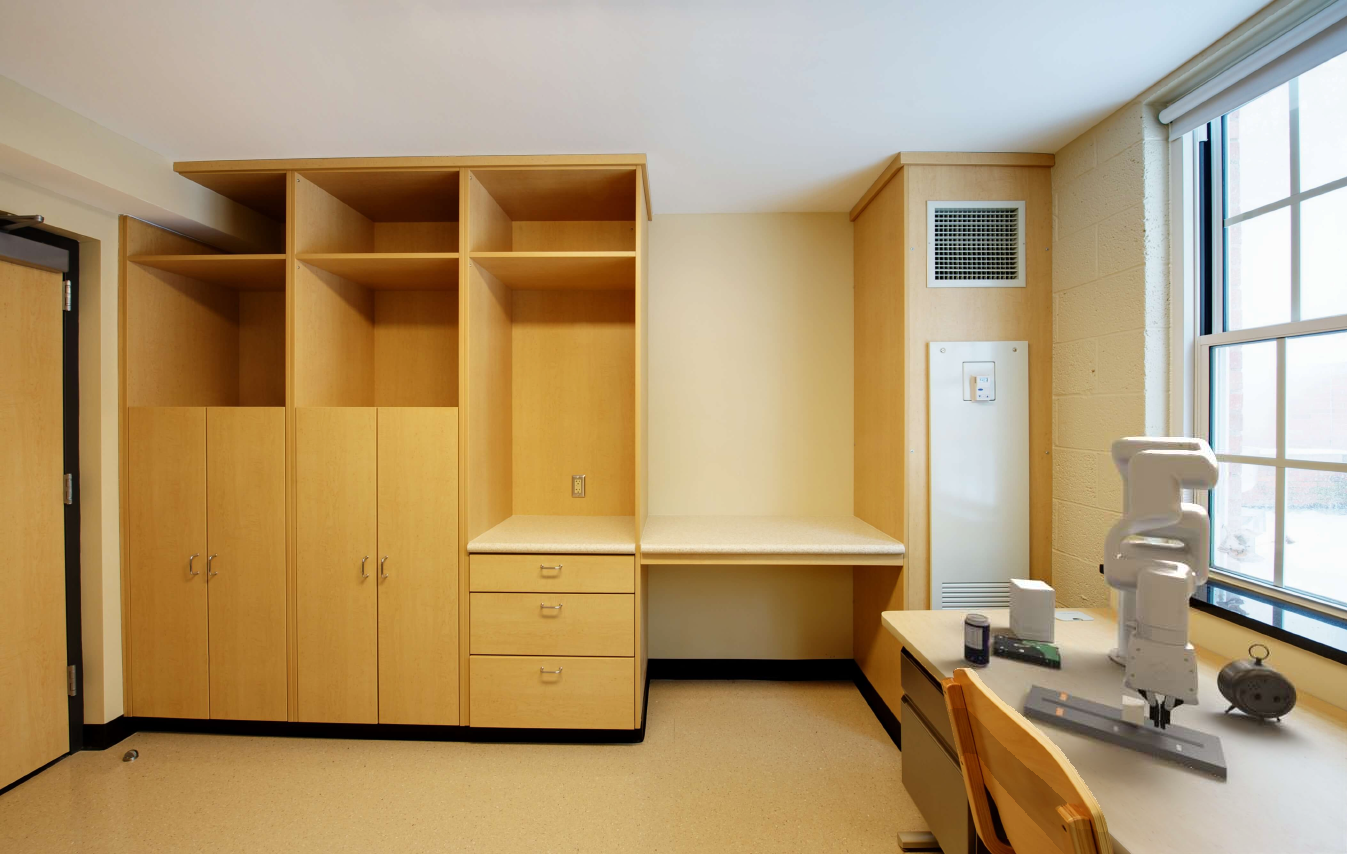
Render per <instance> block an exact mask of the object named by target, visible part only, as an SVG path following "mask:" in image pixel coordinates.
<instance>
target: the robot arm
mask: <svg viewBox="0 0 1347 854" xmlns="http://www.w3.org/2000/svg"><path fill="white" fill-rule="evenodd" d="M1110 448H1111V449H1110V451H1111V452H1110V453H1111V456H1112V460H1113V463H1114V465H1115V467H1116V469H1117V470H1118V472H1119V475H1120V477H1121V480H1122V486H1123V487H1122V488H1123V489H1122V491H1123V493H1122V517H1121V518H1120V519H1119V520H1118V521H1116V522H1115V523H1114V524H1113V525H1112V526H1111V528H1109V531H1108V532H1107V534H1106V536H1105V539H1104V543H1103V576H1104V580H1105V582H1106V584H1107V585H1108V586H1109V587H1111V588H1112V589H1114V590H1117V591H1118V593H1117V594H1118V597H1117V599H1118V601H1117V604H1118V605H1117V647H1114V648H1112V649H1110V650H1109V657H1110V658H1112V660H1113V661H1115V662H1116V663H1118V664H1120V665H1123V666H1124V667H1125V678H1124V681H1123V685H1124V688H1126V689H1128V690H1131V691H1134V692H1136V693H1139V695H1140V696H1141V697H1142V698H1143V700H1145V701H1146V702H1147V704H1148V705H1149V706H1148V708H1149V710H1148V711H1149V713H1148V715H1149V716H1148V717H1149V719H1150V720H1154V727H1157V728H1158V727H1159V720H1160V728H1162V729H1164V730H1165V726H1166V724H1168V725H1170V723H1171V711H1173V709H1175V708H1177V707H1180V706H1183V705H1187V706H1199V705H1200V702H1199V698H1198V695H1199V679H1198V678H1199V677H1198V675H1199V674H1198V661H1197V657H1196V656H1197V654H1196V652H1195V648H1194V646H1193V644H1191V643H1190V642H1189V616H1190V615H1189V612H1190V598H1191V596H1192V595H1194V594H1196V591H1197V587H1198V586H1202V585H1204V584H1206V582H1207V581H1208V579H1209V574H1210V559H1211V558H1210V555H1211V553H1210V551H1211V521H1210V517H1209V513H1208V511H1207V510H1206V509H1205V508H1204V507H1203V506H1202V505H1201V506H1200V505H1198V504H1195V503H1187V502H1182V499H1181V496H1182V495H1181V490H1182V489H1183V490H1196V491H1209V490H1212V489H1214V488H1215V487H1216V486H1217V484H1218V481H1219V476H1220V474H1219V473H1220V471H1219V464H1218V462H1217V458H1216V456H1215V454H1214V452H1213V450H1212V448H1211V447H1210V445H1209V444H1208V442H1207V441H1206V440H1203V439H1200V438H1196V437H1195V438H1194V437H1192V438H1191V437H1158V436H1155V437H1153V436H1131V437H1130V436H1128V437H1122V438H1118V439H1116V440H1114V441H1112V444H1111V447H1110ZM1131 536H1135V537H1141V538H1149V539H1157V540H1166V541H1172V542H1173V541H1174V542H1180V543H1182V544H1183V545H1182V544H1173V543H1166V542H1165V543H1163V542H1157V541H1148V540H1138V539H1137V540H1136V539H1133V540H1132V539H1131V540H1125V539H1127V538H1129V537H1131ZM1156 694H1158V695H1161V696H1164V698H1163V700H1161V703H1159V700H1158V699H1157V698H1156Z"/></svg>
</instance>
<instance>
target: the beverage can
mask: <svg viewBox="0 0 1347 854" xmlns="http://www.w3.org/2000/svg"><path fill="white" fill-rule="evenodd" d="M963 621H964V624H963V625H964V627H963V629H964V630H963V632H964V633H963V634H964V636H963V637H964V640H963V641H964V642H963V647H964V648H963V649H964V650H963V652H964V653H963V657H964V659H965V661H967V663H968V664H969V665H972V666H973V667H977V668H978V667H979V668H983V667H986V666H987V665H989V663H990V654H991V653H990V652H991V651H990V649H991V648H990V641H991V639H990V637H991V635H990V634H991V633H990V631H991V628H990V627H991V624H990V622H989V618H988V617H987V616H985V615H984V614H983V615H982V614H979V613H968V614H966V615H965V618H964V620H963Z"/></svg>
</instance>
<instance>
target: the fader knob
mask: <svg viewBox="0 0 1347 854" xmlns="http://www.w3.org/2000/svg"><path fill="white" fill-rule="evenodd" d="M1144 716H1145V701H1144V699H1143V700H1142V699H1139V698H1136V697H1132V696H1128V695H1124V694H1123V695H1122V720H1125V721H1128V722H1129V724H1132V725H1135V726H1137V724H1138V725H1142V726H1144Z"/></svg>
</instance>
